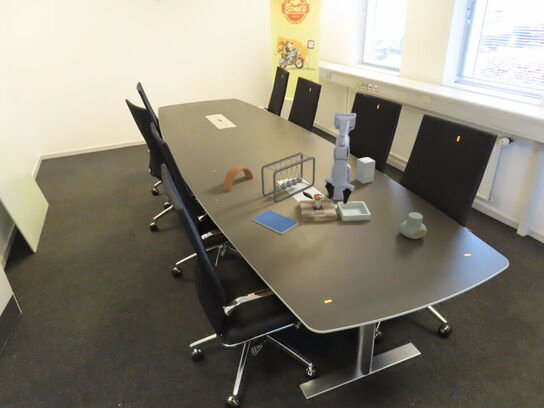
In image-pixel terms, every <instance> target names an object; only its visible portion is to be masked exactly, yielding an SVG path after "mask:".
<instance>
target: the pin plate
mask: <svg viewBox="0 0 544 408" xmlns="http://www.w3.org/2000/svg"><path fill="white" fill-rule="evenodd" d="M314 205H315V199H307V200H305V199H303V200H299V209H300V214H301V219H302V222H319V221H323V222H324V221H338V220H337V219H338V214H337V212H336V209H335V206H334V203H333V201H332V199H329V198H328V199H325V198H324V199H323V198H322V199H321V210H314Z"/></svg>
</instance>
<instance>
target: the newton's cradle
mask: <svg viewBox="0 0 544 408" xmlns="http://www.w3.org/2000/svg"><path fill="white" fill-rule="evenodd" d="M304 156H305V158H304ZM299 157H300V159H299ZM294 158H295V162H292V161H294V160H293V159H294ZM297 158H298V159H299V160H297ZM289 160H291V161H290V163H289ZM310 160H312V183H311V184H310V183H307V182H305V181H303V176H304V175H303V173H304V172H303V171H304V170H303V169H304V165H303V164H304V163H305V162H307V161H310ZM283 162H286V163H287V162H288V163H289V164H286V163H285V164H284V163H283ZM282 163H283V165H284V166H282ZM278 164H280V166H278ZM298 165H300V171H299V172H300V173H298V174H297V171H295V174H294V175H292V179H290V178H287V181H286V182H285V180H283V182H282V183H281V184H279V182H277V179H278V177H277V174H278V173H280V175H281V176H282V177H281V178H282V179H284V178H283V176H284V175H285V176H284V177H286V175H289V176H291V173H292V172H293V171H294V170H293V167H295V166H296V168H295V169H296V170H298V169H299V168H298ZM273 166H275V167H274V168H275V169H273V168H271V167H273ZM276 166H277V167H279V168H276ZM265 168H267V169H269V170H271V171H273V175H272V179H273V181H272V182H273V183H272V184H273V187H272V188H273V190H271V191H269V192H267V193H265V177H264V176H265V175H264V169H265ZM288 169H290V170H291V172H290V174H289V172H288V171H286V170H288ZM283 171H286V173H285V174H284V175H282V172H283ZM260 172H261V173H260V175H261V190H262V191H261V193H262V196H263V197H268V198H271V199H272V200H273V201H274V202H275V203H279V202H281V201H284V200H285V199H288V198H289V197H291V196H292V197H293V196H294V195H297V194H299V193H301V192H303V191H305V190H308V189H311V188H312V187H313V186H314V185H315V181H316V179H315V178H316V157H314V156H309V155H306V154H303V153H302V152H301V151H300V152H297V153H294V154H291V155H289V156H286V157H283V158H280V159H278V160H275V161H273V162H270V163H267V164H264V165H263V166H261V170H260ZM296 174H297V175H298V176H297V177H295V175H296ZM281 178H280V177H279V179H278V181H281V180H280V179H281ZM301 183H303V184H306V185H307V186H305V187H303V188H301V189H298V190H296V191H294V192H291V193H290V194H288V195H285V196H283V197H281V198H279V199H277V193H280V192H281V191H282V190H283V191H285V190H287V189H288V188H292V186H296V185H298V184H301ZM272 194H273V197H272V196H269V195H272Z"/></svg>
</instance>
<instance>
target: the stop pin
mask: <svg viewBox="0 0 544 408" xmlns="http://www.w3.org/2000/svg"><path fill="white" fill-rule="evenodd" d="M313 200H315V205H314V210H322V209H321V200H323V195H322V194H320V193H315V194H314V195H313ZM314 210H313V211H314Z"/></svg>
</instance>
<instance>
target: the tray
mask: <svg viewBox="0 0 544 408" xmlns="http://www.w3.org/2000/svg"><path fill="white" fill-rule="evenodd" d="M336 207H337V211H338V213H339V216H340V218H341V220H342V222H355V221H356V222H358V221H359V222H360V221H362V222H363V221H371V218H372V215H371V212H370V210H369V209H368V206H367V205H366V203H365V202H364V201H362V200H360V201H359V200H358V201H347V203H346V204H343V201H340V202H339V201H338V202H337V205H336Z"/></svg>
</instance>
